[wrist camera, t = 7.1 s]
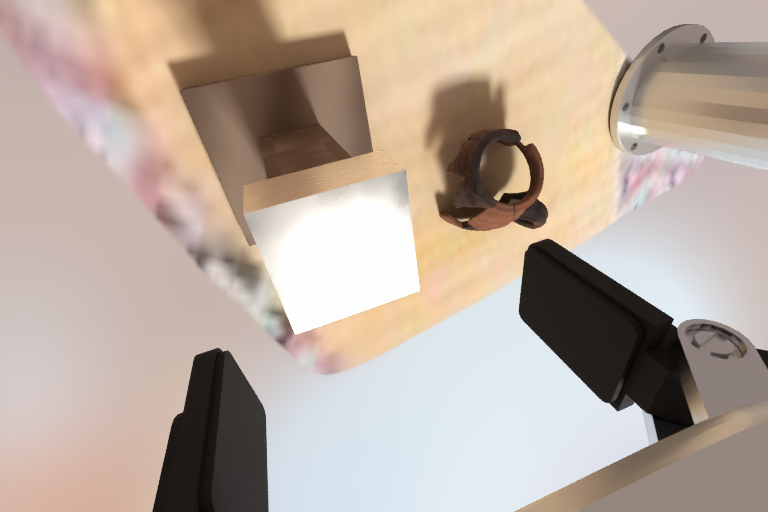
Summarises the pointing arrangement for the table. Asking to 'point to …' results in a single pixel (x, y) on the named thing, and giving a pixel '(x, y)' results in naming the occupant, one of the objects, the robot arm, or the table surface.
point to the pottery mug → (511, 205)
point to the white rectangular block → (335, 237)
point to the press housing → (280, 123)
